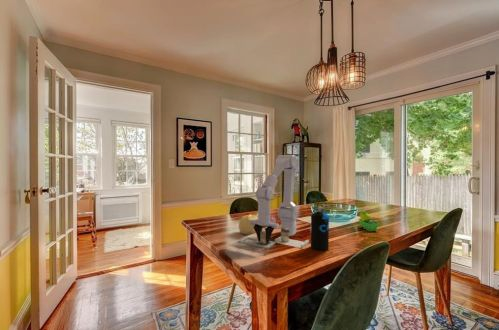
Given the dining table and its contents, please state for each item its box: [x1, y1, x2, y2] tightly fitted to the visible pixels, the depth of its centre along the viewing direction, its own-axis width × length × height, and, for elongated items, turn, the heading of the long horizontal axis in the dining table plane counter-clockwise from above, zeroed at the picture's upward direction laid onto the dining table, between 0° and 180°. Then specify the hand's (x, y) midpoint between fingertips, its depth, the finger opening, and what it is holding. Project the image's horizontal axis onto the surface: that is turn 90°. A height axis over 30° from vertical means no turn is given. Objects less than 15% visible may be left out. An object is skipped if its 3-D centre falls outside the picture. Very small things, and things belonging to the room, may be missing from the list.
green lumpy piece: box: [358, 210, 380, 232], centre depth 147 cm, size 11×9×11 cm
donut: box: [256, 215, 277, 228], centre depth 154 cm, size 14×14×5 cm
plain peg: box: [280, 227, 290, 242], centre depth 117 cm, size 4×4×6 cm
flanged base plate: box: [274, 235, 310, 249], centre depth 115 cm, size 9×14×3 cm, turn 58°
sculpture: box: [238, 213, 258, 236], centre depth 134 cm, size 12×12×11 cm
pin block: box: [237, 235, 277, 249], centre depth 114 cm, size 8×16×2 cm, turn 58°
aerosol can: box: [310, 206, 330, 252], centre depth 108 cm, size 8×8×20 cm
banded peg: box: [259, 230, 269, 246], centre depth 113 cm, size 4×4×6 cm
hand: (263, 241), depth 112 cm, fingers open, 4 cm apart
